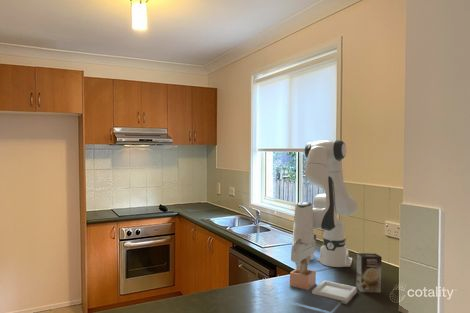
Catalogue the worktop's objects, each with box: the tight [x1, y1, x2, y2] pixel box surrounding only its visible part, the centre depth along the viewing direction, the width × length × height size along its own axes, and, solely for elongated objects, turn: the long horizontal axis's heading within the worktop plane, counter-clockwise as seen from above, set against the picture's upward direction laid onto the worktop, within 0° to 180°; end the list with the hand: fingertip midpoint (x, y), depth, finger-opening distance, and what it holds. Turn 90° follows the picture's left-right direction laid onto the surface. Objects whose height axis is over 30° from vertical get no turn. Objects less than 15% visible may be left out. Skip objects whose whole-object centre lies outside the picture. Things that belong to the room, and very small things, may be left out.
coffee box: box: [355, 252, 383, 293], centre depth 166 cm, size 9×6×16 cm
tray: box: [311, 279, 358, 305], centre depth 160 cm, size 15×15×2 cm
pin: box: [299, 258, 309, 275], centre depth 168 cm, size 4×4×12 cm
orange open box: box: [289, 267, 317, 291], centre depth 168 cm, size 9×9×7 cm
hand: (303, 267), depth 168 cm, fingers open, 8 cm apart
